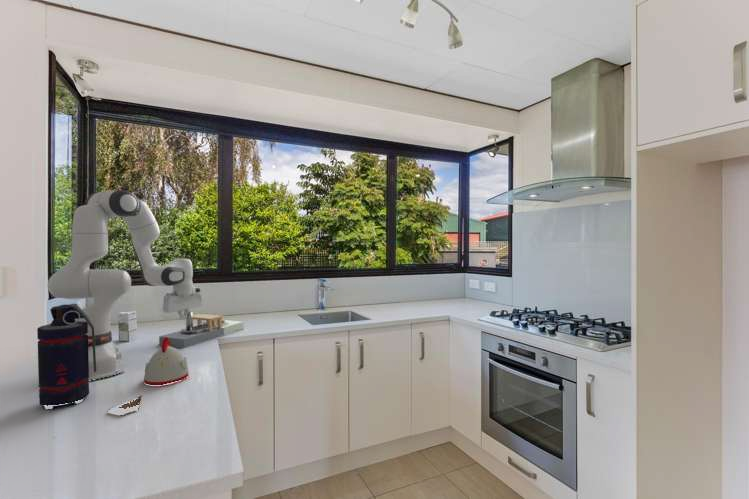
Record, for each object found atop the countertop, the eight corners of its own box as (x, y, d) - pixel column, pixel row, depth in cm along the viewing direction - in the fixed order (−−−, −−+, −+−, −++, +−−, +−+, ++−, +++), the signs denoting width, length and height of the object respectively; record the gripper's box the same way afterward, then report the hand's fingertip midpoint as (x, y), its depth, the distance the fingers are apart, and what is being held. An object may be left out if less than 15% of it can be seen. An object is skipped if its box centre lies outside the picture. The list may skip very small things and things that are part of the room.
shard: (141, 399, 117) (141, 394, 116) (159, 403, 114) (159, 397, 114) (106, 414, 106) (105, 408, 106) (124, 419, 104) (123, 413, 104)
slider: (194, 333, 181) (194, 313, 181) (179, 332, 185) (179, 311, 185) (228, 324, 202) (228, 305, 202) (214, 322, 206) (213, 304, 206)
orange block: (213, 327, 196) (213, 319, 196) (206, 326, 198) (206, 318, 198) (220, 325, 201) (220, 317, 200) (213, 324, 202) (213, 316, 202)
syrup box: (137, 338, 189) (137, 310, 189) (128, 341, 183) (128, 312, 183) (127, 338, 190) (126, 310, 189) (118, 341, 184) (117, 312, 184)
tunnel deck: (183, 347, 172) (183, 325, 172) (159, 344, 178) (159, 322, 178) (243, 328, 209) (243, 310, 209) (221, 326, 215) (221, 308, 215)
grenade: (36, 414, 106) (33, 310, 105) (42, 400, 115) (39, 305, 115) (96, 402, 114) (94, 305, 113) (97, 389, 123) (95, 300, 123)
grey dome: (138, 388, 124) (137, 344, 124) (151, 374, 138) (150, 334, 137) (183, 384, 128) (182, 341, 128) (192, 370, 141) (191, 332, 141)
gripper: (168, 293, 170) (169, 323, 170) (204, 288, 189) (204, 315, 189) (159, 293, 172) (159, 322, 173) (195, 287, 191) (195, 314, 192)
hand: (183, 318), depth 181 cm, fingers closed
